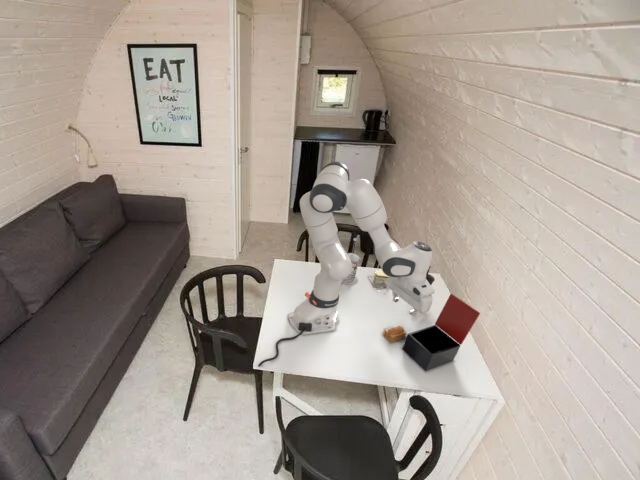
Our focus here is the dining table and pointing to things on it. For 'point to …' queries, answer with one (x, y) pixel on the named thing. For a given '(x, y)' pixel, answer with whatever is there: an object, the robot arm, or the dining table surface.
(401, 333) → the bread roll
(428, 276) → the drinking cup
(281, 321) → the dining table surface
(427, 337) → the black hinged box
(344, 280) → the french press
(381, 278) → the stacked layers on plate
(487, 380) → the dining table surface
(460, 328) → the red box lid
